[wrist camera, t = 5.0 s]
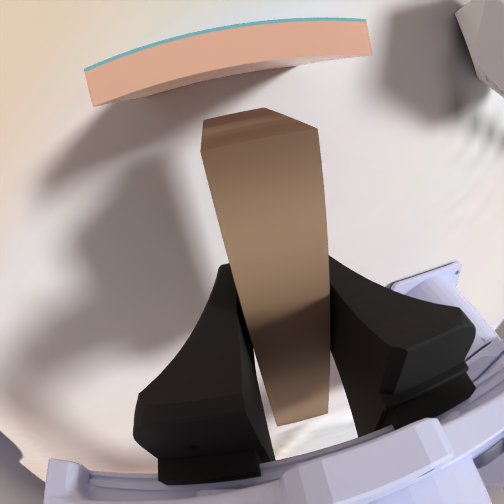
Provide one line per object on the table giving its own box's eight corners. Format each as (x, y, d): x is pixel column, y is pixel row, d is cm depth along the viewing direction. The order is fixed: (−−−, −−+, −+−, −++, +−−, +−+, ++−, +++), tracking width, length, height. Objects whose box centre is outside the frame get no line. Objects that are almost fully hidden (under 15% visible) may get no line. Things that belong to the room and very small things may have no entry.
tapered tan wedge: (297, 325, 17) (328, 413, 12) (256, 336, 17) (276, 426, 12) (264, 107, 11) (318, 128, 6) (203, 120, 11) (199, 151, 6)
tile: (296, 65, 14) (372, 55, 7) (147, 96, 13) (93, 107, 7) (292, 45, 13) (365, 19, 6) (142, 75, 13) (83, 68, 6)
